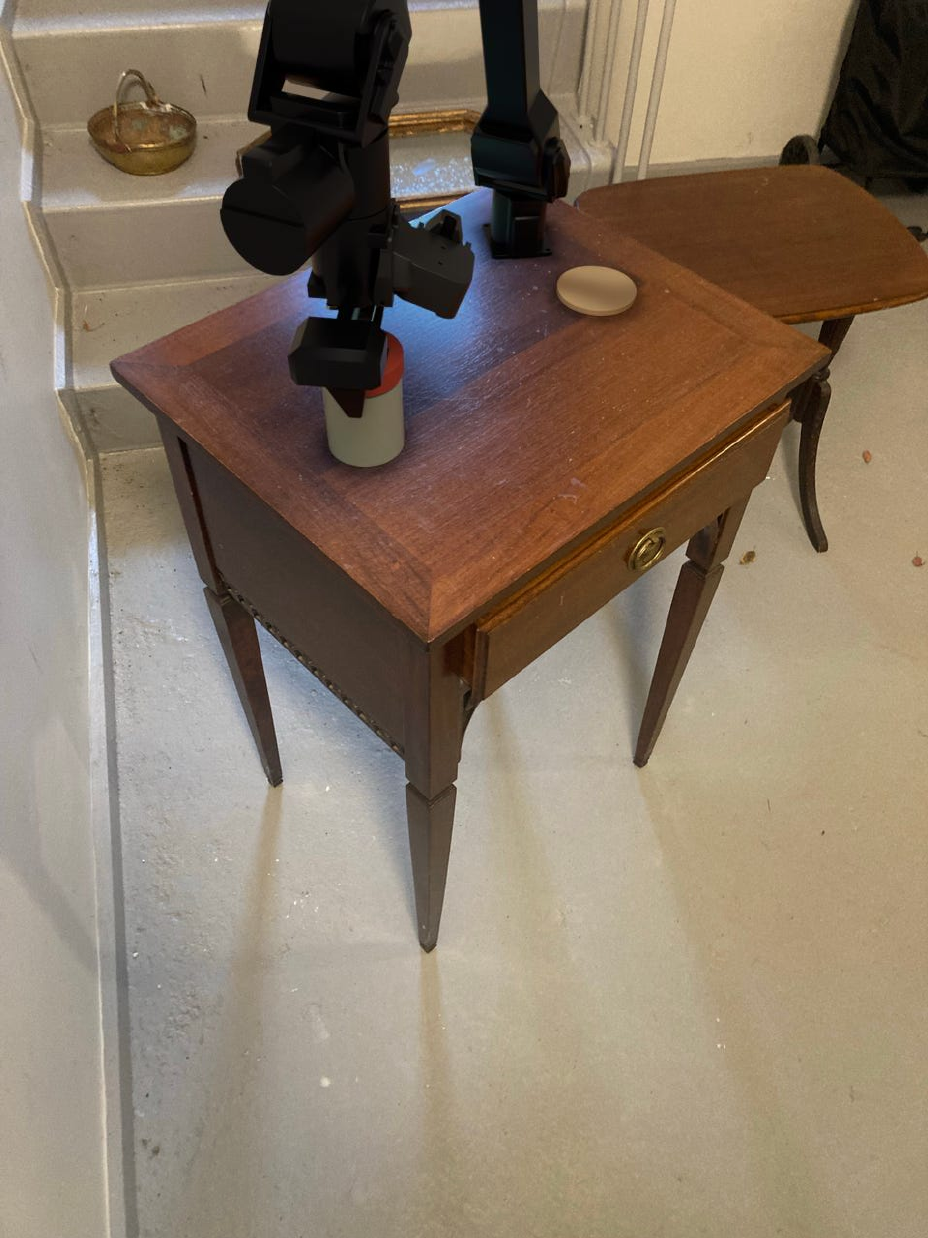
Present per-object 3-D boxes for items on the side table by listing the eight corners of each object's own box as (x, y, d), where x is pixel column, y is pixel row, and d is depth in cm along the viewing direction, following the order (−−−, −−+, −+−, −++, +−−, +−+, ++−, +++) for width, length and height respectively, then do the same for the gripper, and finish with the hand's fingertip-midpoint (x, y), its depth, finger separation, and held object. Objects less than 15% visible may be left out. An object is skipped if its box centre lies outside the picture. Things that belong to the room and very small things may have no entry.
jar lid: (309, 394, 71) (306, 376, 69) (324, 340, 75) (322, 322, 73) (398, 400, 70) (397, 383, 69) (408, 346, 75) (408, 328, 73)
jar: (325, 419, 80) (315, 336, 73) (399, 412, 81) (396, 330, 74) (331, 470, 76) (321, 388, 69) (409, 463, 77) (406, 380, 70)
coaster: (548, 273, 95) (549, 267, 95) (623, 268, 96) (624, 263, 96) (566, 318, 90) (566, 313, 90) (645, 313, 91) (646, 307, 91)
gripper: (456, 285, 56) (452, 477, 68) (479, 141, 67) (471, 327, 80) (272, 272, 56) (301, 466, 68) (326, 130, 68) (342, 318, 80)
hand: (361, 389), depth 74 cm, fingers closed on jar lid, 6 cm apart
